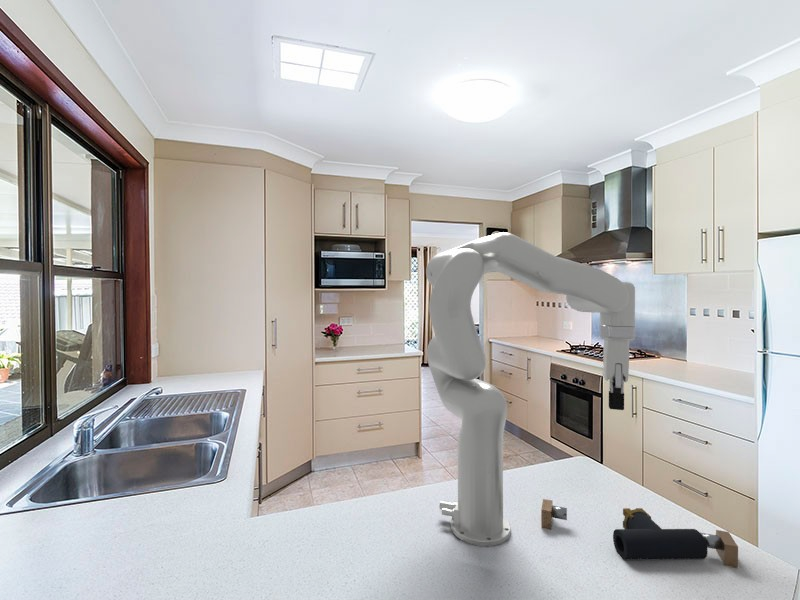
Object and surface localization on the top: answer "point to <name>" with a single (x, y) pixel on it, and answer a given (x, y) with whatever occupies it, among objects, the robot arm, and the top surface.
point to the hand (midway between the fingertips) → (616, 408)
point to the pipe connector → (655, 539)
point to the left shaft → (551, 514)
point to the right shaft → (723, 547)
